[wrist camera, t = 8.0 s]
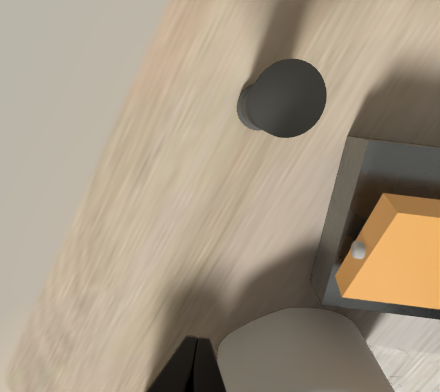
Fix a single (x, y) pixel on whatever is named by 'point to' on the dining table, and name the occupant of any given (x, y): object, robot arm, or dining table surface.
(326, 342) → the lumpy-topped squat cylinder
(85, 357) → the dining table surface
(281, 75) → the post
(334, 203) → the block
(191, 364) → the robot arm
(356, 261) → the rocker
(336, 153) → the dining table surface
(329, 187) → the dining table surface
